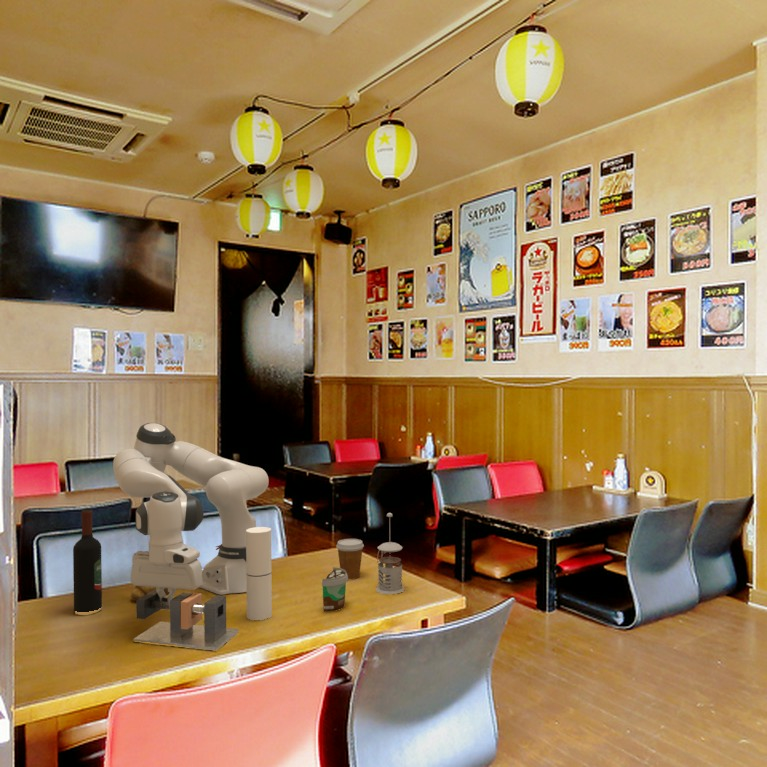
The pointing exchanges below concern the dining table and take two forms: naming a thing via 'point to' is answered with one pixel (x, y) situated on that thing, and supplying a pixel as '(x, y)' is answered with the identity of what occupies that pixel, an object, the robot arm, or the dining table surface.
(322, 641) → the dining table surface
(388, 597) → the dining table surface
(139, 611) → the shaft
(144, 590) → the bread roll
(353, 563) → the disposable coffee cup
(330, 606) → the food container
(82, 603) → the wine bottle
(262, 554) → the cylindrical container
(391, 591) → the french press
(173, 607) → the shaft frame
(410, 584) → the dining table surface
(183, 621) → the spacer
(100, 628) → the dining table surface
